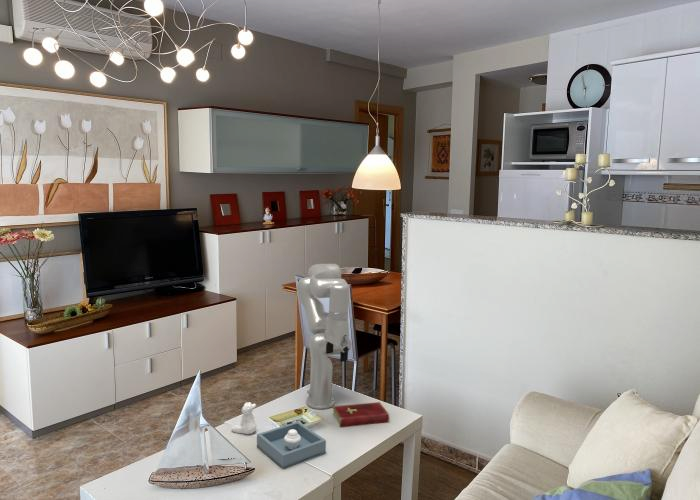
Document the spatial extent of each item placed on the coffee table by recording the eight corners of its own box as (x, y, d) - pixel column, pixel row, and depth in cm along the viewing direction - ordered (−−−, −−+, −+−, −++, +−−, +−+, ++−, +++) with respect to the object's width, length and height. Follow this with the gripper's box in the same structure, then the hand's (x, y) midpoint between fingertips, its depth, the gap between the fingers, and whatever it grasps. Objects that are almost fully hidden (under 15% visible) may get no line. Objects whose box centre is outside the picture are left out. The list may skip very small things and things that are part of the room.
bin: (256, 447, 197) (257, 434, 196) (297, 433, 208) (298, 421, 207) (282, 469, 183) (283, 455, 182) (325, 453, 194) (325, 440, 193)
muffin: (292, 453, 191) (293, 435, 190) (280, 448, 194) (280, 430, 193) (304, 447, 196) (304, 429, 195) (291, 441, 199) (291, 424, 198)
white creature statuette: (249, 423, 215) (249, 394, 213) (263, 430, 209) (264, 401, 208) (230, 431, 208) (230, 402, 206) (244, 439, 202) (244, 409, 200)
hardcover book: (389, 423, 220) (389, 413, 219) (339, 428, 214) (340, 418, 213) (379, 410, 231) (379, 401, 231) (332, 415, 225) (332, 405, 225)
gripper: (318, 310, 212) (316, 351, 215) (343, 322, 199) (341, 366, 202) (333, 308, 217) (331, 348, 220) (359, 319, 203) (357, 362, 206)
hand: (336, 357), depth 211 cm, fingers open, 9 cm apart
